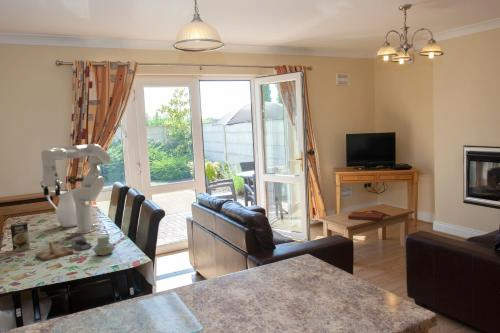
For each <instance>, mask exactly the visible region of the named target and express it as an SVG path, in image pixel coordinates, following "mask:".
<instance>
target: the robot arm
mask: <svg viewBox="0 0 500 333" xmlns="http://www.w3.org/2000/svg"><path fill="white" fill-rule="evenodd" d="M83 157H88V158H87V159H88V165H89V170H88V172H87V173H86V175H85V177H84V178H83V179H82V182H81V186H82V187H75V188H76V189H75V188H74V191H73V194H72V195H73V199H74V202H75V208H76V217H77V225H76V226H77V229H76V230H75V233H76V234H77V235H78V234H79V235H80V234H88V233H92V232H94V231H95V230H96V229H95V227H100V223H93V221H92V211H91V204H90V202H94V201H95V200H97V198H98V197H99V195H100V193H101V192H102V191H103V188H104V187H105V182H106V181H105V178H104V177H103V176H101V175H102V169H101V167H100V166H106V165H109V164H110V163H111V155H110V154H109V153H108V152H107V151H106V150H105V149H104V148H103V147H102V146H101V145H99V144H97V143H87V144H86V143H85V144H78V145H69V146H68V145H67V146H63V147H54V148H48V149H42V150H41V162H42V163H41V165H42V181H40V182H39V184H40V185H41V188H42V190H43V196H45V197H47V195H49V192H50V191H49V187H54V191H55V193H54V195H55V196H56V197H57V196H58V195H60V191H61V188H62V185H63V182H62V181H60V176H59V175H60V174H59V172H58V170H57V166H56V164H57V163H56V161H62V160H66V159H78V158H83Z"/></svg>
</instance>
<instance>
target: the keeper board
mask: <svg viewBox="0 0 500 333" xmlns="http://www.w3.org/2000/svg"><path fill="white" fill-rule="evenodd" d="M48 248H49V250H45V251H41V252H37V253H35V257H36V258H38V259H40V261H42V262H47V261H49V260H54V259H58V258H62V257H66V256H69V255H73V254H74V250H72V249H70V248H68V247H66V246H60V247H57V248H54V245H53V241H48Z"/></svg>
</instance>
